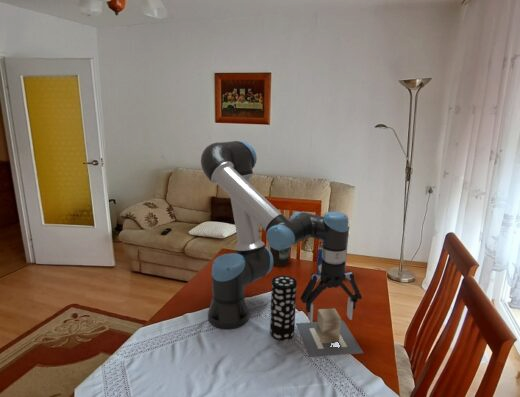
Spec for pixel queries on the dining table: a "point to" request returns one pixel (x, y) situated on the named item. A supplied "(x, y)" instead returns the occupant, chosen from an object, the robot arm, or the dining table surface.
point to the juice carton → (321, 255)
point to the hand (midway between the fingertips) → (329, 318)
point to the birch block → (328, 325)
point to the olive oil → (280, 257)
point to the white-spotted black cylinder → (283, 307)
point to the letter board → (323, 349)
